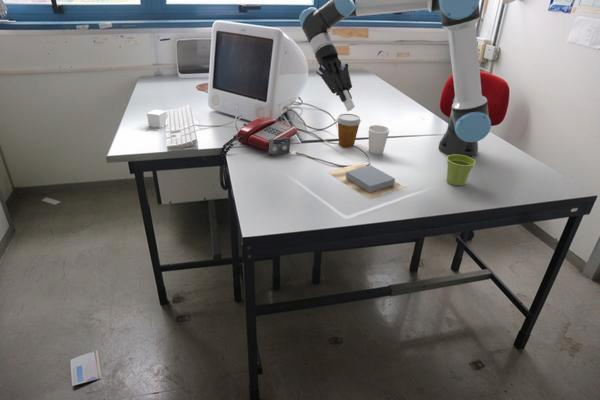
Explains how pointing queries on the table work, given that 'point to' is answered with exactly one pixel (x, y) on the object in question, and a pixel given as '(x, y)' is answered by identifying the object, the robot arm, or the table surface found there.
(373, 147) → the dixie cup
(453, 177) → the plant pot
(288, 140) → the mini dv tape
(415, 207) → the table surface
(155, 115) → the adhesive note
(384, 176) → the tile
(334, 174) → the board
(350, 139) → the disposable coffee cup
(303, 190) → the table surface
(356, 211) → the table surface
